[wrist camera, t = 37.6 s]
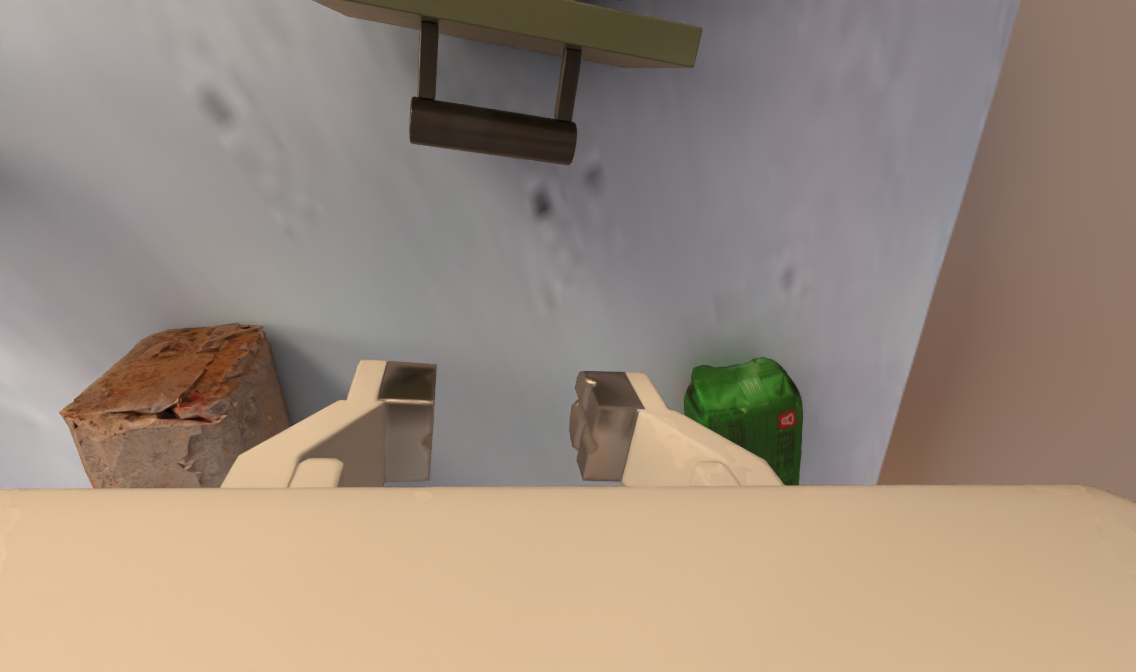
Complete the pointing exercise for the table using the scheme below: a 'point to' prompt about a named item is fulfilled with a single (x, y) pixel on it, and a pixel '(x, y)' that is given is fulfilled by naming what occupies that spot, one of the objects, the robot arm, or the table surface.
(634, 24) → the drawer
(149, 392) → the food item
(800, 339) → the table surface
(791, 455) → the snack package
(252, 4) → the table surface
